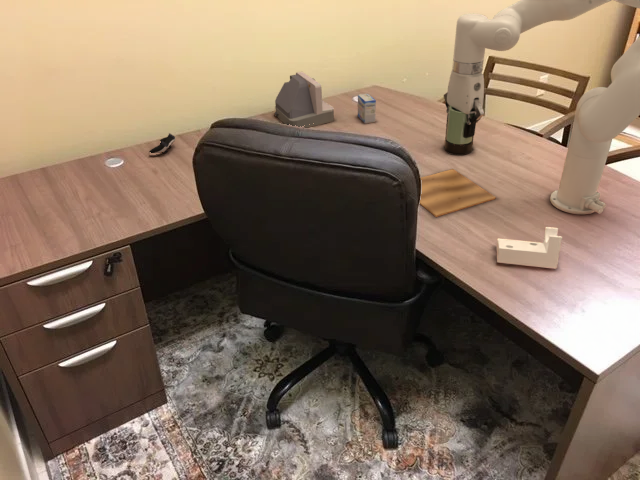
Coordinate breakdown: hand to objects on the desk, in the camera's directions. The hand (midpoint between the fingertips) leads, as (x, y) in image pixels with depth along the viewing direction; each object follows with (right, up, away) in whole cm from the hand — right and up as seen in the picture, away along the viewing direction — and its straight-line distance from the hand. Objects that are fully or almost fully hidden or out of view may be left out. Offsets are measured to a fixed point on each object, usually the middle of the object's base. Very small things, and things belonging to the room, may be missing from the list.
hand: (459, 131), depth 146 cm
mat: (-2, -16, +9) cm, 18 cm away
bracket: (+11, -34, -18) cm, 40 cm away
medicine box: (-21, +16, +57) cm, 62 cm away
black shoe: (-93, +2, +42) cm, 102 cm away
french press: (+8, +1, +32) cm, 33 cm away
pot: (0, -2, +1) cm, 2 cm away
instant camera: (-45, +17, +61) cm, 77 cm away
